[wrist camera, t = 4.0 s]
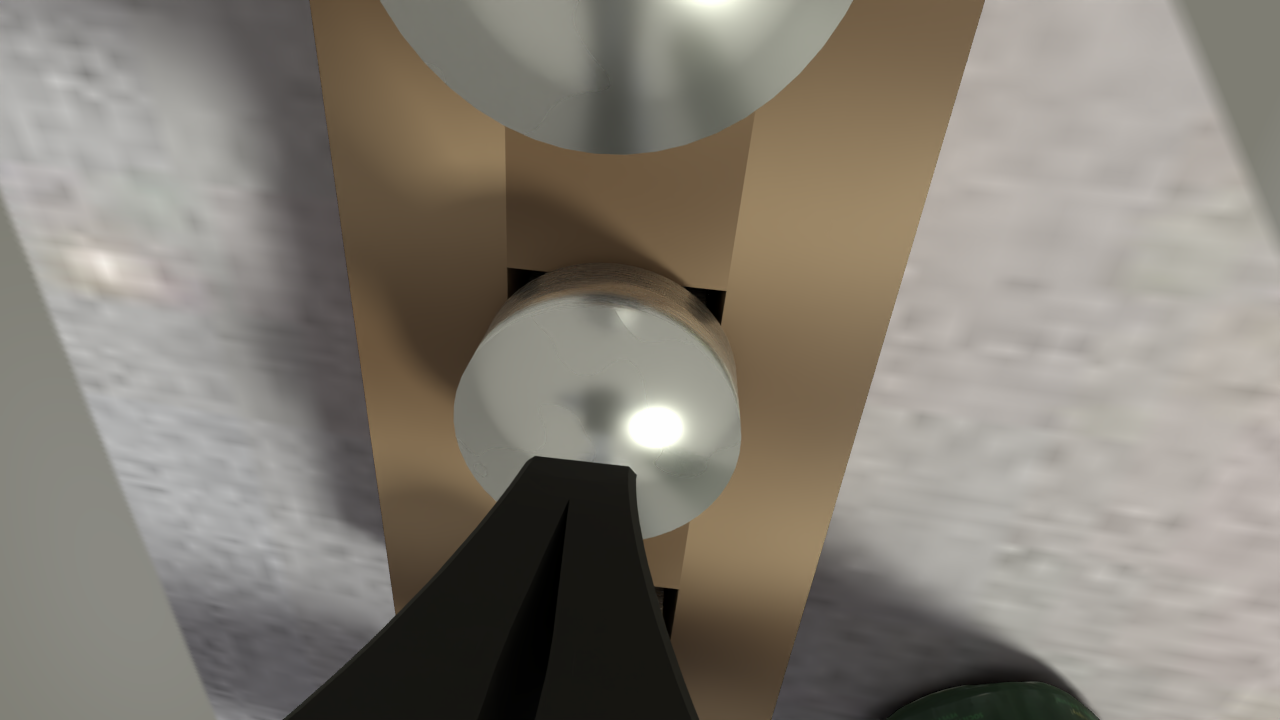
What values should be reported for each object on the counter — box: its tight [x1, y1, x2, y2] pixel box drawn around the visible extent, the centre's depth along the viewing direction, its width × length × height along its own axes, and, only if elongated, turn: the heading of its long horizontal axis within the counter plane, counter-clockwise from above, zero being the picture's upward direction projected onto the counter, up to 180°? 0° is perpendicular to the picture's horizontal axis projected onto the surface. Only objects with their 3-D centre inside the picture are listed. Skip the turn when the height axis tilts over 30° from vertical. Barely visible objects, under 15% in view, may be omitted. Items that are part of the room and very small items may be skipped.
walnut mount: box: [309, 0, 985, 720], centre depth 14 cm, size 21×9×4 cm, turn 175°
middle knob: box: [454, 262, 741, 539], centre depth 13 cm, size 4×4×6 cm
